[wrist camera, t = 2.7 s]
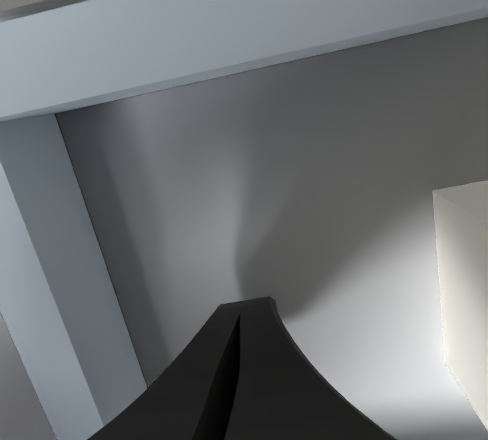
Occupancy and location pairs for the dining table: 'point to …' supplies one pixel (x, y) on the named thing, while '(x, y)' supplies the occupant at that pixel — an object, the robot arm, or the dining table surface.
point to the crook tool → (30, 7)
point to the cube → (464, 287)
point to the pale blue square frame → (64, 180)
